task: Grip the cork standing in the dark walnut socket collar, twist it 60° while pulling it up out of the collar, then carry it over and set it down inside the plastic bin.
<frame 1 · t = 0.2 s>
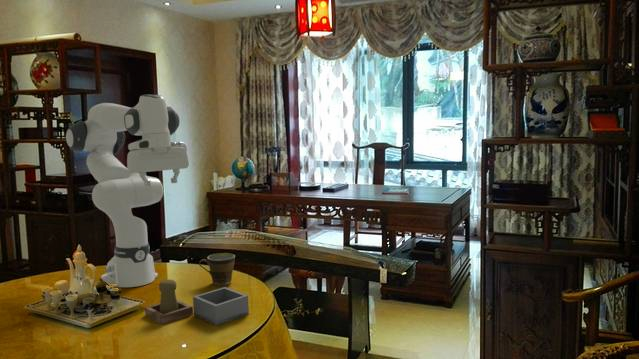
hand: (161, 184, 171), 39 cm above the table, tool pointing down, fingers open, 8 cm apart
socket collar: (169, 314, 160), on the table
bin: (221, 314, 160), on the table
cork: (169, 315, 160), resting in socket collar
ceramic cup: (218, 283, 190), on the table
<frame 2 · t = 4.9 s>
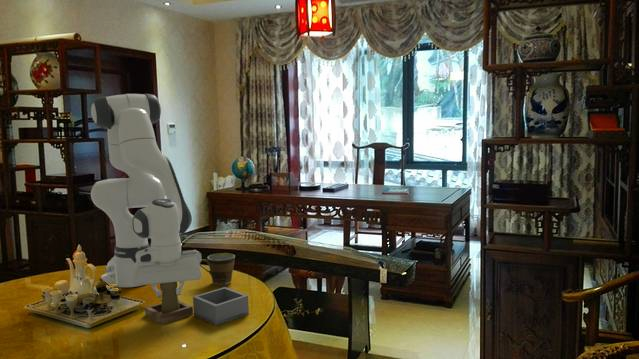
hand: (168, 295, 160), 6 cm above the table, tool pointing down, fingers closed on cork, 4 cm apart
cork: (171, 314, 161), resting in socket collar, touching gripper
everything else where it was.
when the fingers open (7 cm above the table, at t = 10.0 s): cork stays where it is, resting on bin.
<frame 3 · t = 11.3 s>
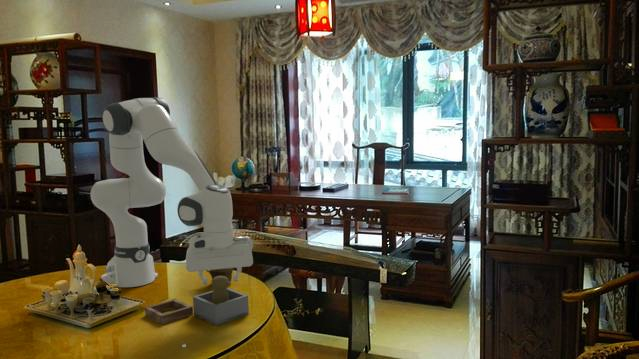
hand: (220, 282, 159), 10 cm above the table, tool pointing down, fingers open, 8 cm apart
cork: (220, 311, 160), point 1 cm above the table, touching bin
everything else where it was.
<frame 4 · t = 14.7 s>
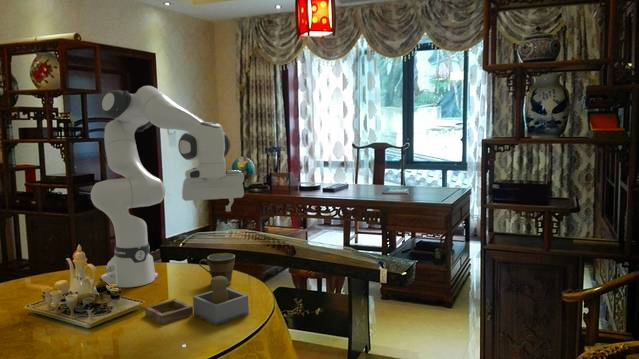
hand: (214, 212, 173), 29 cm above the table, tool pointing down, fingers open, 8 cm apart
nothing on the table moved.
at the end: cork inside the target area on the bin (0.3 cm from its centre), point 0.8 cm above the bin's base; the gripper is holding nothing; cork tilted 0° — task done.
